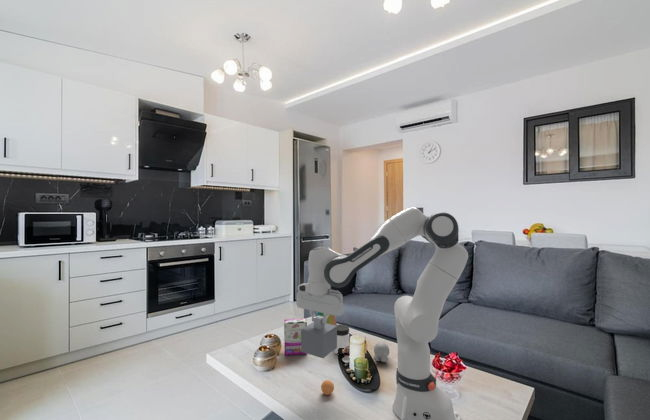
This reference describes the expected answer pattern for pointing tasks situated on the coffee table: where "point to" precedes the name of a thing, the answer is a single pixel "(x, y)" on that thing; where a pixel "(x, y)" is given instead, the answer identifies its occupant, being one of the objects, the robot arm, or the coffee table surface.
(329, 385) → the ball
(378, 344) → the chubby cartoon animal
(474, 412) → the coffee table surface
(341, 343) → the jar
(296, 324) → the candy bar box
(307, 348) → the grey faceted cube
